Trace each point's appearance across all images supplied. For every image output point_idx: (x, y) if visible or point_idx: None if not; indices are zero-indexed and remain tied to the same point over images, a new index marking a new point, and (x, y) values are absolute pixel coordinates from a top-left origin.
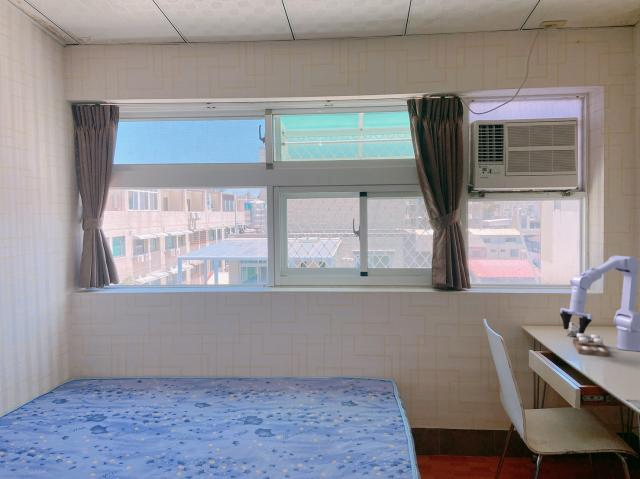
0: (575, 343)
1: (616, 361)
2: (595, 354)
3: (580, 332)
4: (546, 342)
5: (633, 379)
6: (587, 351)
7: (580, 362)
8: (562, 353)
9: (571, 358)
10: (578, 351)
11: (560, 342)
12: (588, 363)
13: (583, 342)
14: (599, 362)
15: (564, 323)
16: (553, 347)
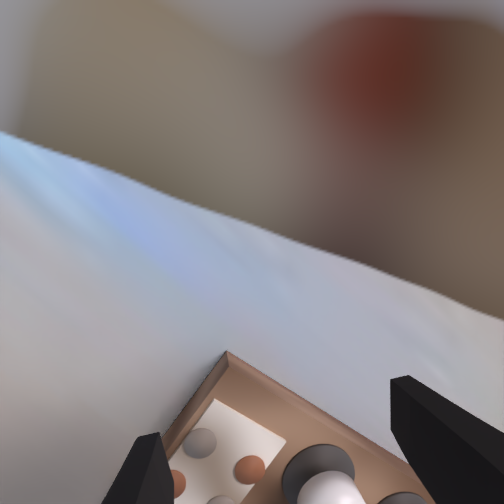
0: (363, 447)
1: (13, 475)
2: (164, 438)
3: (133, 448)
4: (497, 320)
5: None
6: (194, 408)
7: (40, 208)
8: (265, 242)
9: (145, 216)
10: (242, 365)
11: (464, 409)
12: (6, 250)
13: (305, 483)
14: (14, 347)
15: (460, 430)
16: (396, 284)
